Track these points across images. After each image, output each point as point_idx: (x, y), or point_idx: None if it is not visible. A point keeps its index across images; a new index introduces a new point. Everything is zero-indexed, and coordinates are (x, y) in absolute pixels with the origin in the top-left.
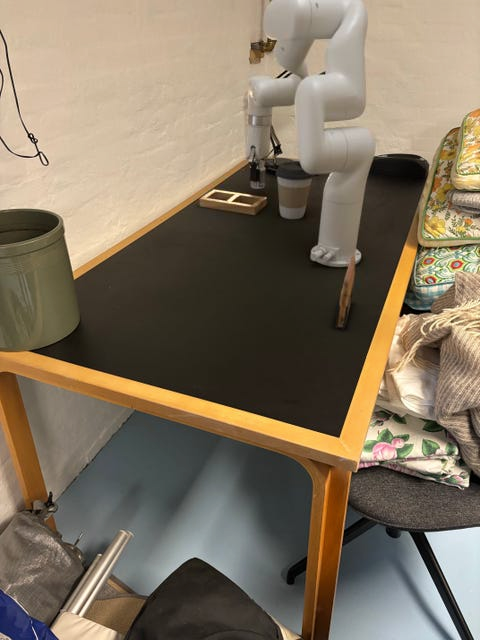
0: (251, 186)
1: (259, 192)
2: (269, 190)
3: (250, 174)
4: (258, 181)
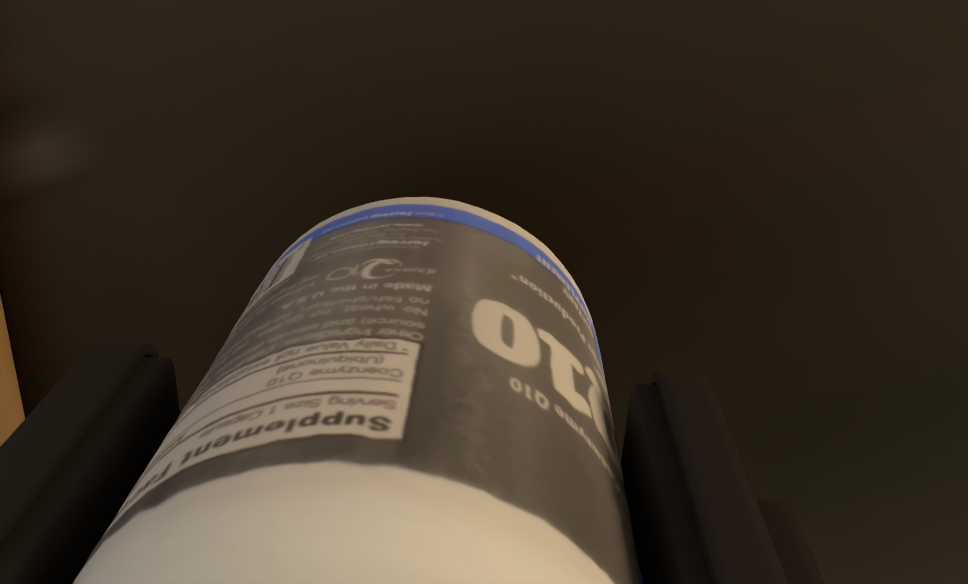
0: (284, 253)
1: (642, 247)
2: (825, 383)
3: (12, 451)
4: None
